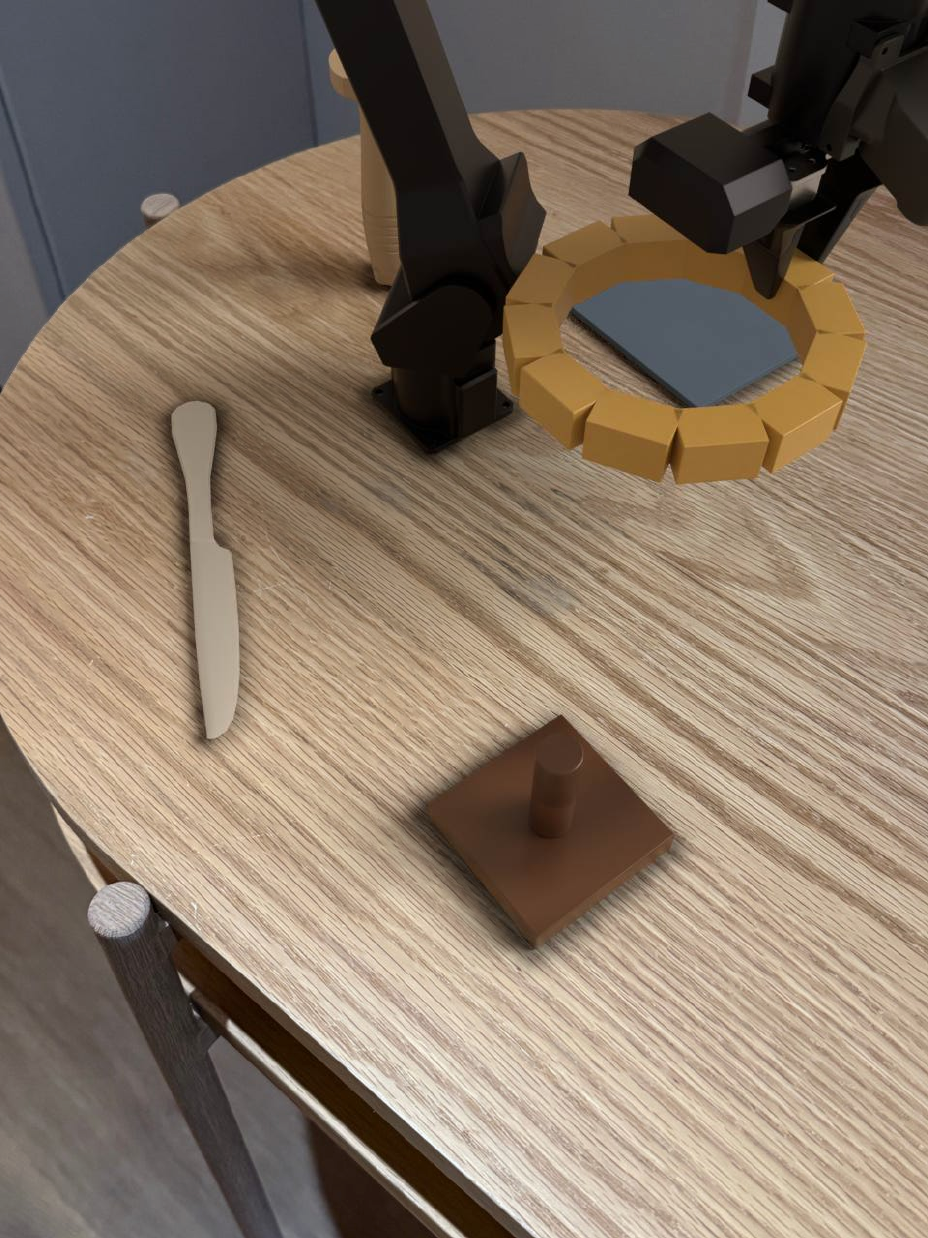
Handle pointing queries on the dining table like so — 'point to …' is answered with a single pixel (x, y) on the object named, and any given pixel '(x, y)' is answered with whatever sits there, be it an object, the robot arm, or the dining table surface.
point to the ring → (654, 431)
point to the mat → (689, 336)
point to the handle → (373, 190)
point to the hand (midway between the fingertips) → (783, 284)
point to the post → (549, 829)
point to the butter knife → (208, 570)
